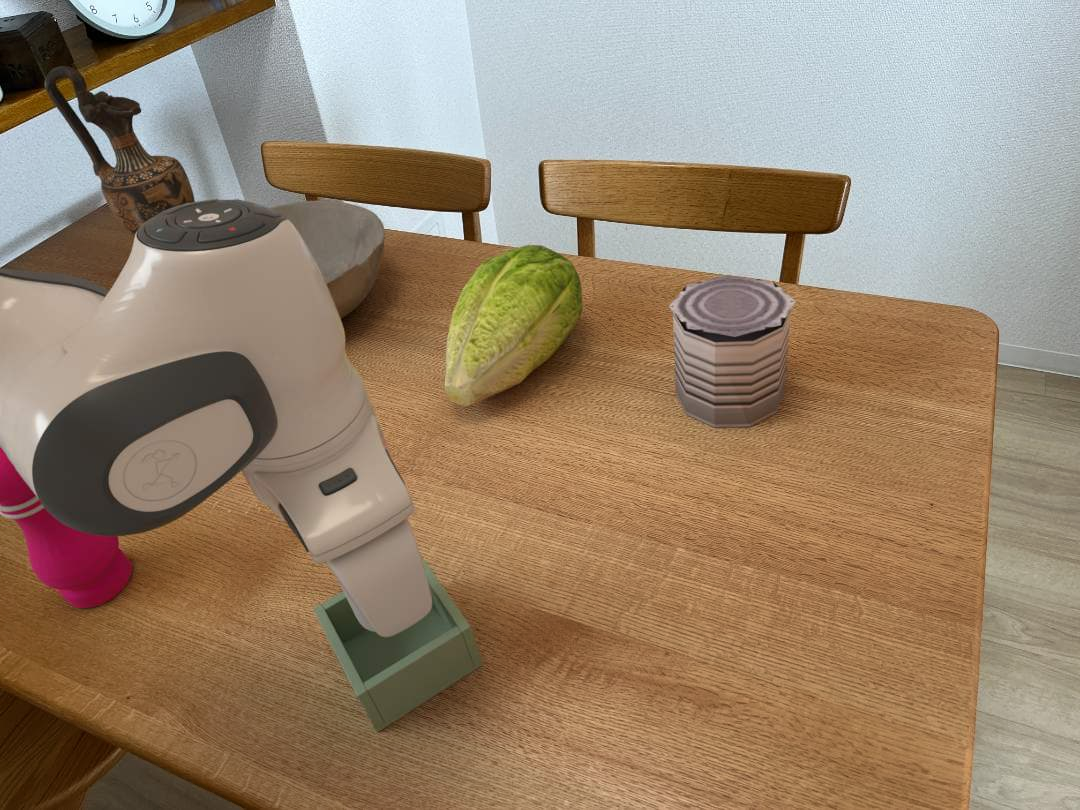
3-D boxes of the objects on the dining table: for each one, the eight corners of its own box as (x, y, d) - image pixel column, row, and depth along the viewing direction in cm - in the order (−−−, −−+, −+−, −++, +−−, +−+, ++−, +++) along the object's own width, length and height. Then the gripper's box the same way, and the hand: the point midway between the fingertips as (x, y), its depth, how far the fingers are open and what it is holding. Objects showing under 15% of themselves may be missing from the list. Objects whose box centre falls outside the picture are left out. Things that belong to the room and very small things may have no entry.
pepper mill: (91, 548, 81) (-27, 401, 68) (152, 554, 80) (43, 404, 67) (45, 609, 76) (-92, 462, 63) (109, 617, 75) (-18, 467, 61)
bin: (377, 732, 62) (357, 696, 59) (332, 645, 69) (312, 608, 65) (483, 664, 66) (470, 626, 62) (431, 587, 72) (417, 548, 68)
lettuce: (383, 367, 88) (450, 339, 77) (485, 245, 100) (555, 207, 89) (461, 446, 93) (534, 431, 82) (550, 321, 104) (624, 294, 94)
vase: (207, 274, 121) (110, 72, 102) (128, 285, 122) (17, 86, 103) (228, 235, 130) (142, 42, 110) (154, 245, 131) (57, 56, 111)
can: (660, 417, 84) (655, 324, 77) (693, 352, 92) (691, 261, 84) (770, 439, 80) (777, 343, 72) (795, 369, 87) (804, 275, 79)
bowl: (299, 395, 96) (269, 327, 89) (155, 343, 109) (120, 280, 102) (437, 275, 112) (421, 210, 105) (298, 242, 125) (275, 182, 118)
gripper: (218, 383, 57) (285, 512, 66) (319, 569, 43) (386, 700, 52) (301, 346, 59) (356, 476, 68) (423, 511, 45) (471, 647, 54)
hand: (370, 574), depth 60 cm, fingers closed on beverage can, 5 cm apart
